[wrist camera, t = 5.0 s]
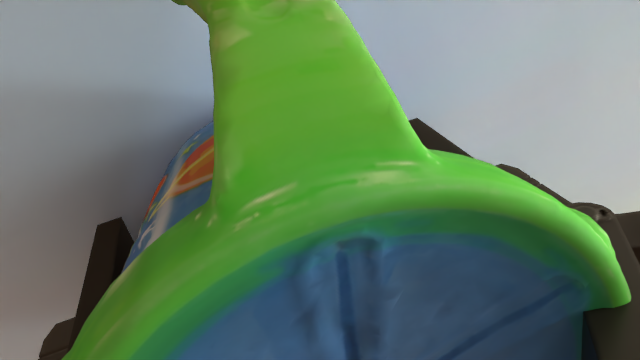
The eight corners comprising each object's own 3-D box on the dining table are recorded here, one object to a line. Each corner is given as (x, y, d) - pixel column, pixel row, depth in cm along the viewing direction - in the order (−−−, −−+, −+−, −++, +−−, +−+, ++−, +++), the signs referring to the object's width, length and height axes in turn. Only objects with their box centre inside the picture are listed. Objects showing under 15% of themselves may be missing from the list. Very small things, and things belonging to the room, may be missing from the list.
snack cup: (408, 341, 22) (574, 607, 13) (158, 403, 20) (150, 779, 11) (418, -55, 15) (766, -66, 6) (44, -30, 13) (-228, 2, 4)
